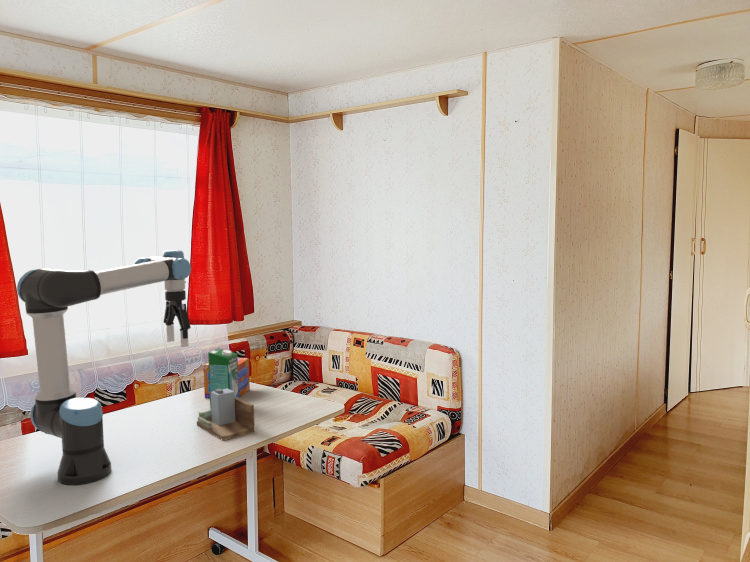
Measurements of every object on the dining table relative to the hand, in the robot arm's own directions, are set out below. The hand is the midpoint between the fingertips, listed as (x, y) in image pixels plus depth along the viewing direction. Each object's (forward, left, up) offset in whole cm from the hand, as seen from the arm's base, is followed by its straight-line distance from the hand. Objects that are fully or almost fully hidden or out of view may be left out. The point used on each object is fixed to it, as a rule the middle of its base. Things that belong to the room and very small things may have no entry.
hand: (177, 344), depth 226 cm
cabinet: (+11, -15, -30) cm, 35 cm away
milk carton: (+22, +6, -32) cm, 39 cm away
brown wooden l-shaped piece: (+10, -18, -32) cm, 38 cm away
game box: (+32, +23, -32) cm, 51 cm away
